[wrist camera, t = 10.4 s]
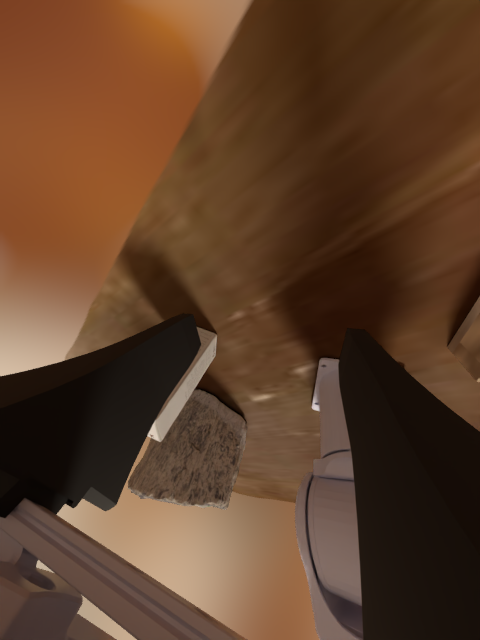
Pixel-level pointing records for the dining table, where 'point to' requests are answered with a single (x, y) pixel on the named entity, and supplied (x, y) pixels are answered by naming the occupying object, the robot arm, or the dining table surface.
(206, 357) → the skincare box
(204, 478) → the grey brown chunky block
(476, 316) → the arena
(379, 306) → the dining table surface
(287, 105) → the dining table surface
